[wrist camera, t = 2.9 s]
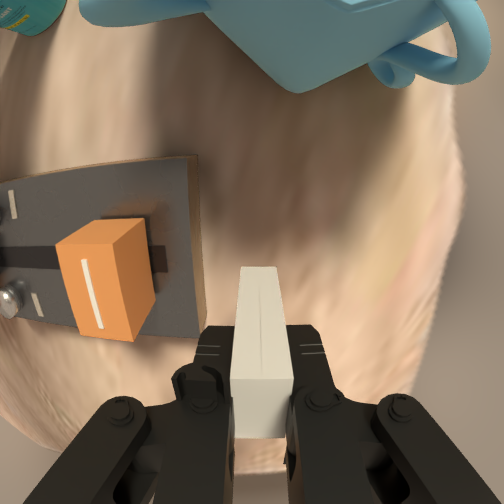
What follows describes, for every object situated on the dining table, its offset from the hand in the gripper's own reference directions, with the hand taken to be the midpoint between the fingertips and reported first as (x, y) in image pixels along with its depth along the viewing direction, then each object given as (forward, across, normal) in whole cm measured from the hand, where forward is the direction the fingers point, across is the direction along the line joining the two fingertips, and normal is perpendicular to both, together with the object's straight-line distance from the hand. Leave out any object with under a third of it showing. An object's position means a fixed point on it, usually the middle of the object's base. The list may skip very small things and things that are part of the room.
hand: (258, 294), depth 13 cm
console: (+6, -13, 0) cm, 14 cm away
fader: (+3, -8, 0) cm, 8 cm away
